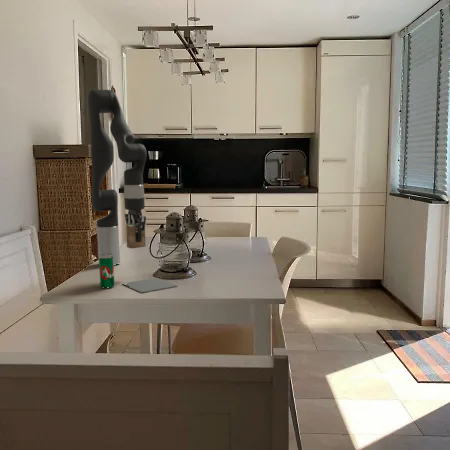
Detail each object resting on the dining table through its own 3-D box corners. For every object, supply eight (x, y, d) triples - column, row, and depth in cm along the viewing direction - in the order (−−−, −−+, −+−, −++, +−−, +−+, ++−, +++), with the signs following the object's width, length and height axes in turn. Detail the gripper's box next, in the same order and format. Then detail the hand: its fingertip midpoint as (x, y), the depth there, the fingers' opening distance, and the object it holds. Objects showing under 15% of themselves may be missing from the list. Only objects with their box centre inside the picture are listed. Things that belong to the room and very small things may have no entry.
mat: (122, 284, 176) (122, 283, 176) (156, 278, 184) (156, 277, 184) (141, 293, 163) (141, 292, 163) (177, 286, 172) (177, 285, 172)
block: (126, 247, 185) (125, 224, 184) (140, 245, 189) (140, 222, 187) (131, 248, 182) (130, 225, 181) (145, 246, 185) (144, 223, 184)
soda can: (108, 284, 176) (107, 252, 175) (117, 286, 173) (116, 254, 172) (97, 287, 172) (95, 254, 171) (106, 289, 169) (104, 256, 168)
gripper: (117, 196, 186) (119, 239, 188) (133, 198, 175) (135, 244, 177) (134, 195, 190) (136, 237, 193) (151, 197, 179) (153, 242, 181)
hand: (136, 240), depth 185 cm, fingers closed on block, 4 cm apart
